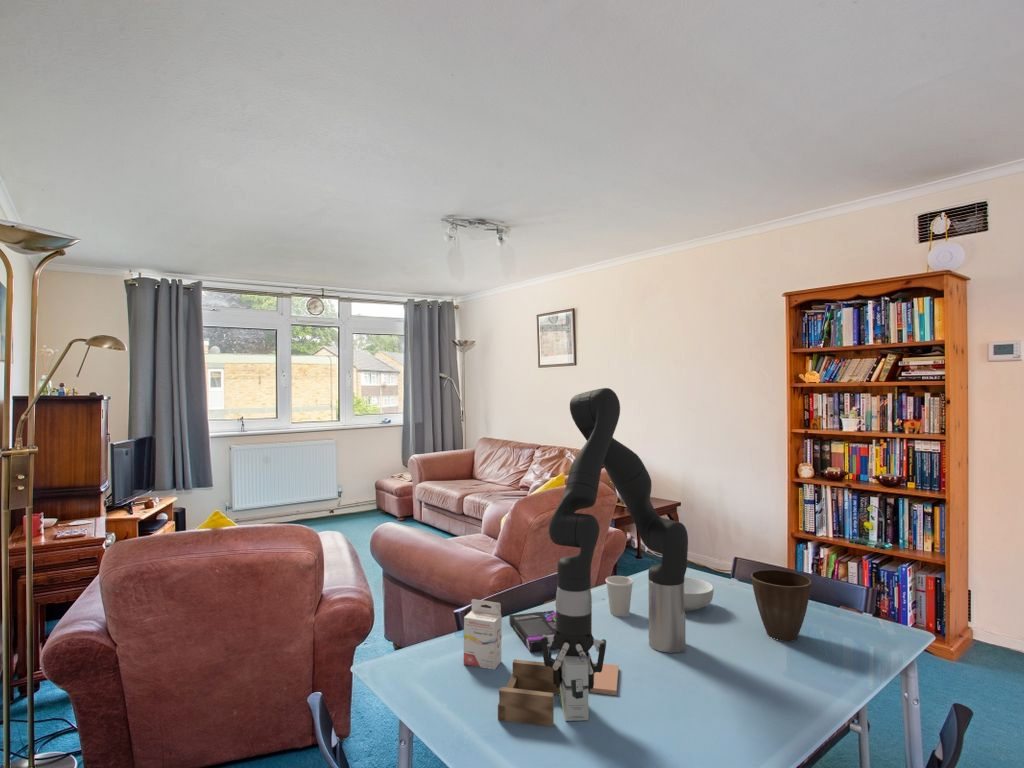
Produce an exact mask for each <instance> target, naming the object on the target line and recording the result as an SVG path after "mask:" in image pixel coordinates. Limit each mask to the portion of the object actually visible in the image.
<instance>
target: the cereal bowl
mask: <svg viewBox="0 0 1024 768" xmlns="http://www.w3.org/2000/svg"><path fill="white" fill-rule="evenodd" d="M713 586H714V585H712V584H711V583H710V582H708V581H706V580H703V579H700V578H696V577H690V576H684V602H685V612H693V611H698V609H702V608H704V607H707V606H709V605H710V604H711V602H712V600H713V597H714V587H713Z"/></svg>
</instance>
